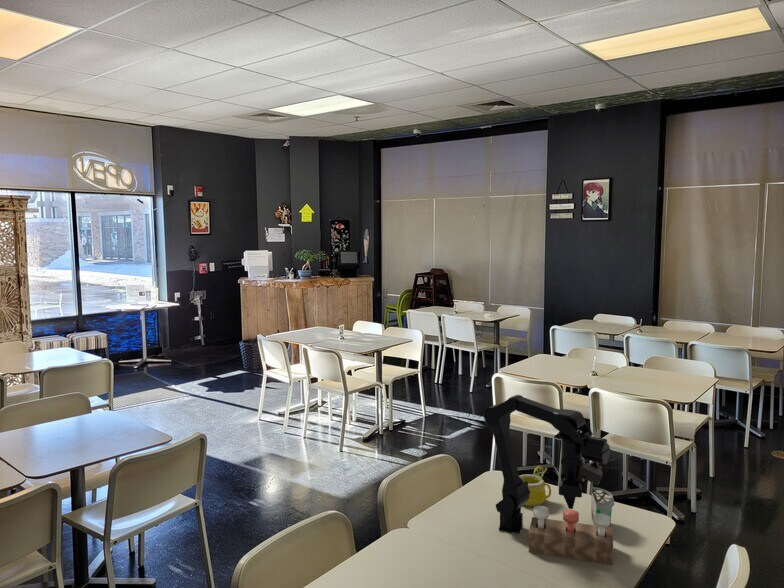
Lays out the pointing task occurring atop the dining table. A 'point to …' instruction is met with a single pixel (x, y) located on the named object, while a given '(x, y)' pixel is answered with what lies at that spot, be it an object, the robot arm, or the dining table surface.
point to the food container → (601, 502)
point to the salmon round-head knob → (570, 518)
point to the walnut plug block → (571, 541)
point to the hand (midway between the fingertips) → (570, 507)
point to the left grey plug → (541, 515)
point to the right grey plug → (601, 523)
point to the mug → (536, 488)
